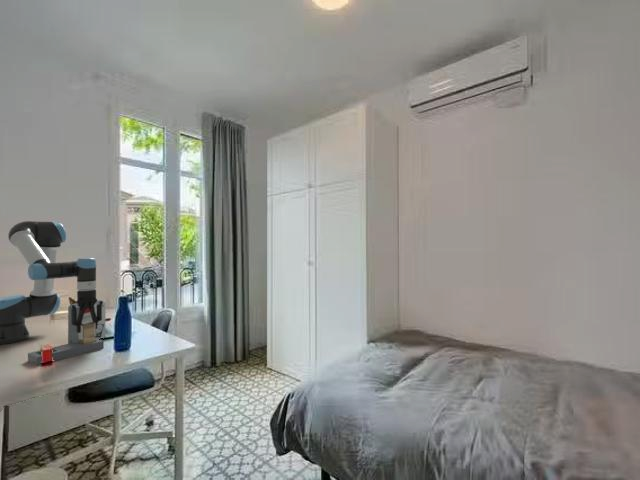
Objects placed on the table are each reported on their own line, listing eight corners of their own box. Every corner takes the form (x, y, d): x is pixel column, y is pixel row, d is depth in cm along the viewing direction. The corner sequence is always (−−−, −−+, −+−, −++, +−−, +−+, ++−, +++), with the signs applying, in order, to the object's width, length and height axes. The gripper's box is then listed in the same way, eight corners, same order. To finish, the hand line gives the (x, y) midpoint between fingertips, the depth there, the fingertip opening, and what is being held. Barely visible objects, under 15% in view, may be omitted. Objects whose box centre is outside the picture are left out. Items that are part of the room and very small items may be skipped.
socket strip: (27, 361, 144) (27, 352, 144) (93, 344, 166) (93, 337, 166) (36, 365, 138) (36, 356, 138) (103, 348, 160) (103, 340, 160)
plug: (79, 349, 158) (79, 323, 158) (90, 347, 162) (90, 321, 162) (84, 351, 156) (83, 324, 156) (94, 348, 160) (94, 322, 160)
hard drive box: (79, 346, 163) (79, 306, 163) (67, 345, 164) (66, 306, 164) (106, 337, 178) (105, 301, 178) (94, 336, 180) (94, 300, 180)
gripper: (68, 292, 149) (69, 343, 149) (110, 287, 164) (110, 334, 164) (61, 291, 153) (62, 341, 153) (102, 286, 168) (103, 332, 168)
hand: (87, 337), depth 159 cm, fingers closed on plug, 5 cm apart
